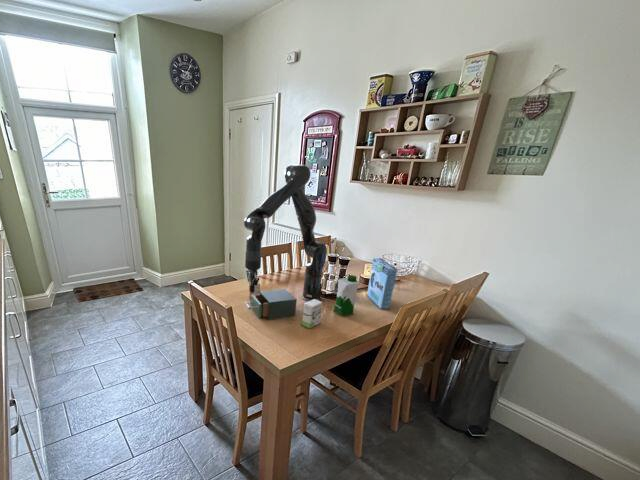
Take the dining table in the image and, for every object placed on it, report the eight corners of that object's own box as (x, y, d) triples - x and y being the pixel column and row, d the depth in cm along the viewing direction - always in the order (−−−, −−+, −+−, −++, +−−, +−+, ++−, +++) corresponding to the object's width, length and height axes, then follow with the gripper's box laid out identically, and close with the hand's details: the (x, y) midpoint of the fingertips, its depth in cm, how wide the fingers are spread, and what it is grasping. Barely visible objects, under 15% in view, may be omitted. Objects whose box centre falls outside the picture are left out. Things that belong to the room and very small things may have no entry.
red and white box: (256, 297, 189) (256, 281, 185) (259, 300, 185) (260, 284, 180) (249, 297, 188) (250, 281, 184) (252, 301, 184) (253, 285, 179)
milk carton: (355, 314, 171) (362, 278, 163) (341, 317, 168) (347, 281, 160) (344, 307, 179) (350, 273, 170) (331, 310, 175) (336, 275, 167)
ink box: (309, 328, 157) (312, 306, 152) (301, 325, 160) (303, 303, 155) (320, 323, 162) (323, 301, 157) (311, 319, 165) (314, 298, 160)
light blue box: (388, 309, 178) (398, 269, 169) (379, 309, 178) (388, 269, 168) (374, 294, 196) (382, 258, 186) (366, 294, 196) (373, 257, 186)
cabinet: (268, 319, 164) (269, 302, 160) (258, 307, 177) (259, 291, 173) (295, 316, 168) (296, 299, 164) (283, 304, 181) (285, 288, 177)
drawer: (250, 319, 162) (250, 305, 159) (242, 308, 173) (242, 295, 170) (283, 315, 167) (284, 301, 164) (273, 304, 178) (274, 291, 175)
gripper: (265, 261, 151) (263, 296, 158) (255, 253, 163) (254, 286, 170) (250, 263, 149) (248, 297, 156) (241, 254, 160) (240, 287, 168)
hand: (251, 291), depth 163 cm, fingers closed
